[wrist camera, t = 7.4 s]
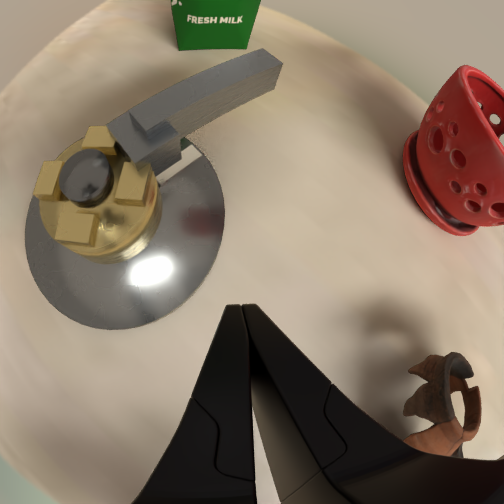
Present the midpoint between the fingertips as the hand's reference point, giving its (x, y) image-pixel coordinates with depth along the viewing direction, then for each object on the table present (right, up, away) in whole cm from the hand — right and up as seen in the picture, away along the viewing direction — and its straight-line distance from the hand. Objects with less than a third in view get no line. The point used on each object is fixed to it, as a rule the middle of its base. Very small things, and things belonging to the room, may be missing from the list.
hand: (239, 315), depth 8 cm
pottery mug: (+13, -12, +11) cm, 21 cm away
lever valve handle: (-5, +7, +10) cm, 13 cm away
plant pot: (+19, +9, +16) cm, 27 cm away
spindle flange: (-9, +4, +10) cm, 14 cm away
